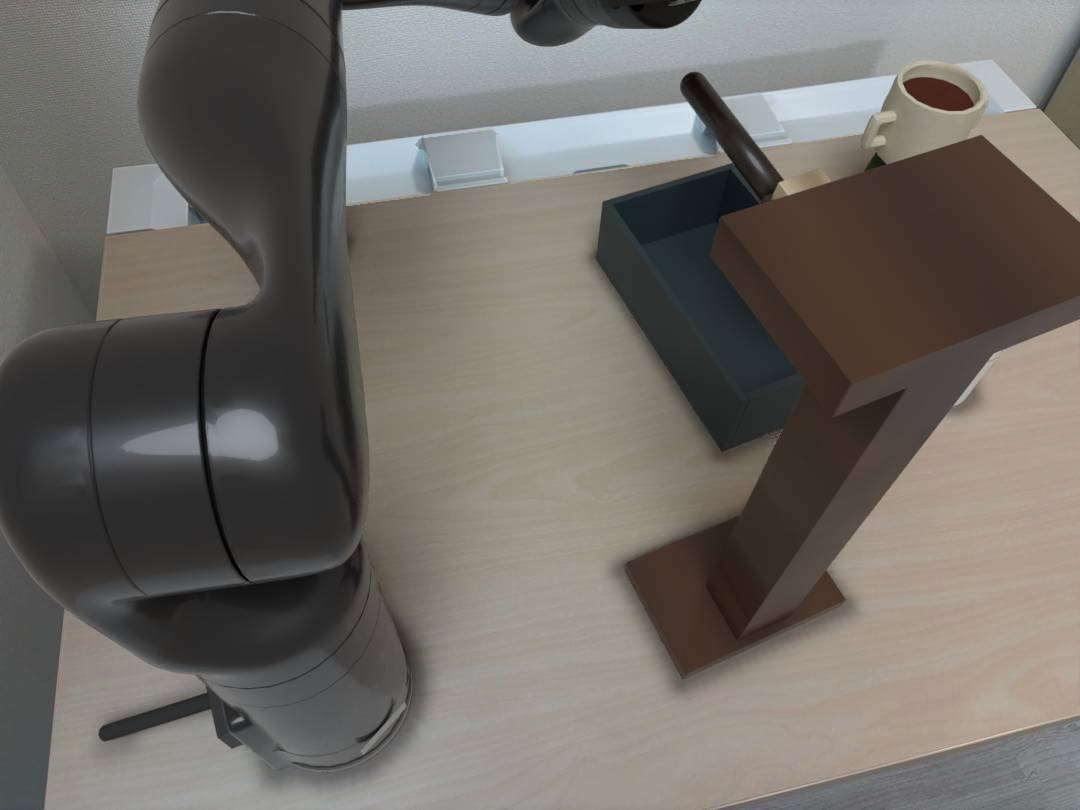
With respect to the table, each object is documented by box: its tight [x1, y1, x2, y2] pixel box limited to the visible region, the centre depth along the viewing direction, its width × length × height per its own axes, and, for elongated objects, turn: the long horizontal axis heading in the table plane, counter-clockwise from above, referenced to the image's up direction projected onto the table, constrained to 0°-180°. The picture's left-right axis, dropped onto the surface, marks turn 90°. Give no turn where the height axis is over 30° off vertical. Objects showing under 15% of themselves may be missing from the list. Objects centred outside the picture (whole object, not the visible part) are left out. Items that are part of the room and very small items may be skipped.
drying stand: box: [624, 134, 1080, 680], centre depth 43 cm, size 12×8×32 cm, turn 114°
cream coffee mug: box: [860, 59, 990, 172], centre depth 71 cm, size 11×7×13 cm, turn 106°
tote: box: [595, 162, 806, 452], centre depth 66 cm, size 12×21×7 cm, turn 24°
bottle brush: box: [679, 71, 832, 204], centre depth 57 cm, size 4×19×4 cm, turn 25°
